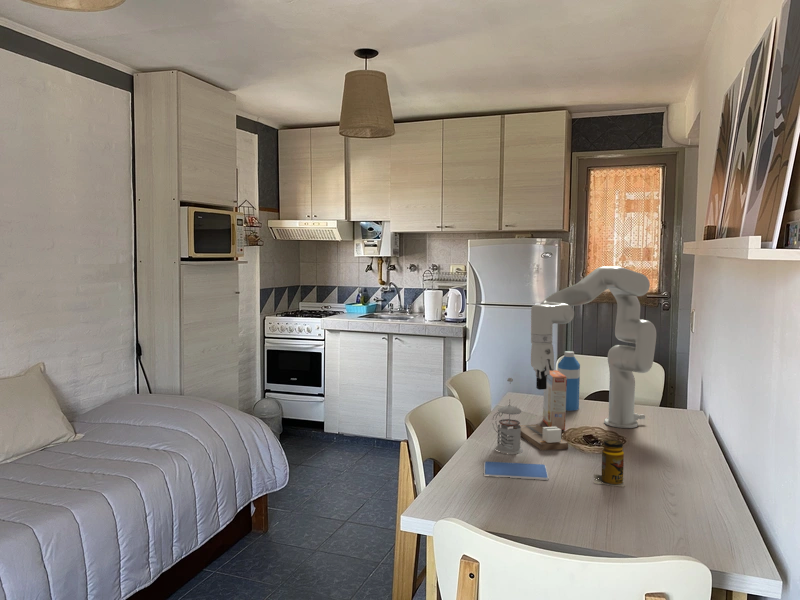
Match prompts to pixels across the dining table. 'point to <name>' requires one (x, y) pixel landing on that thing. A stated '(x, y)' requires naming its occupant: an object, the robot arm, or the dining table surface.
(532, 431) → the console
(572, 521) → the dining table surface
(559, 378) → the cracker box
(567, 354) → the water bottle
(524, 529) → the dining table surface
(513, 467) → the tablet computer
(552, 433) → the fader knob
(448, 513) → the dining table surface
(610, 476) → the condiment
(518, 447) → the french press
